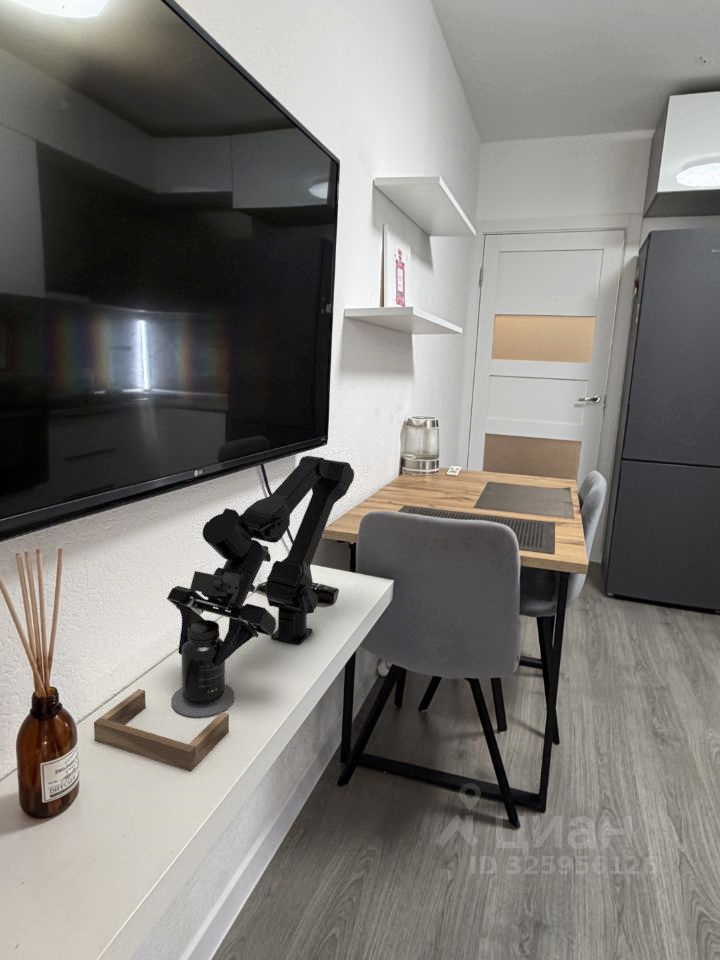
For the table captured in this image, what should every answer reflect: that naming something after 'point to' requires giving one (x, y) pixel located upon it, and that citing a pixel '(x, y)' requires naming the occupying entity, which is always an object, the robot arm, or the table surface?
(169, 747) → the walnut bay
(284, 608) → the robot arm
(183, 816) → the table surface
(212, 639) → the supplement bottle
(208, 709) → the coaster
